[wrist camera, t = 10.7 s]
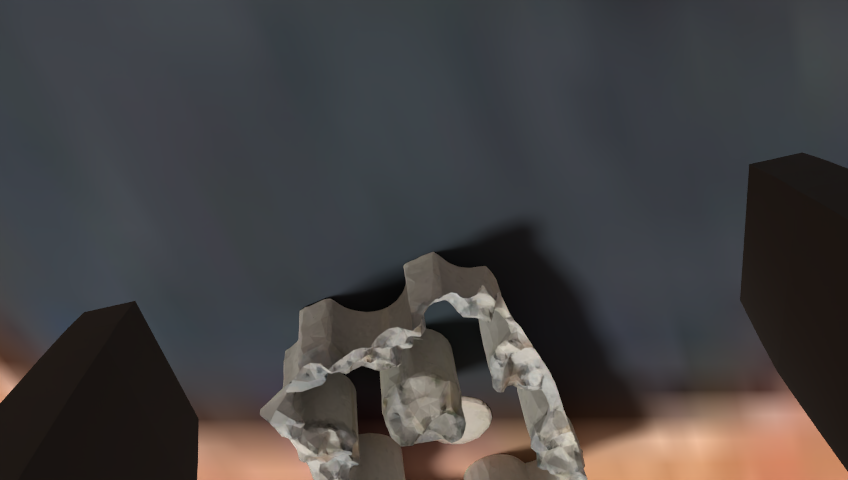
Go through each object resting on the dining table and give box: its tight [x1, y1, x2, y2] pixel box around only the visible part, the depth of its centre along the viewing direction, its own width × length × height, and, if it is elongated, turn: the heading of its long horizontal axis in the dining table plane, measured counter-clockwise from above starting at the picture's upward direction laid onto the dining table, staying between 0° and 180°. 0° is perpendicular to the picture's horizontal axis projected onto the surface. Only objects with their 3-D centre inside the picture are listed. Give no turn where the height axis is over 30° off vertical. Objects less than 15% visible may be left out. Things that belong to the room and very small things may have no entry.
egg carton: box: [260, 252, 587, 480], centre depth 23 cm, size 11×8×4 cm
